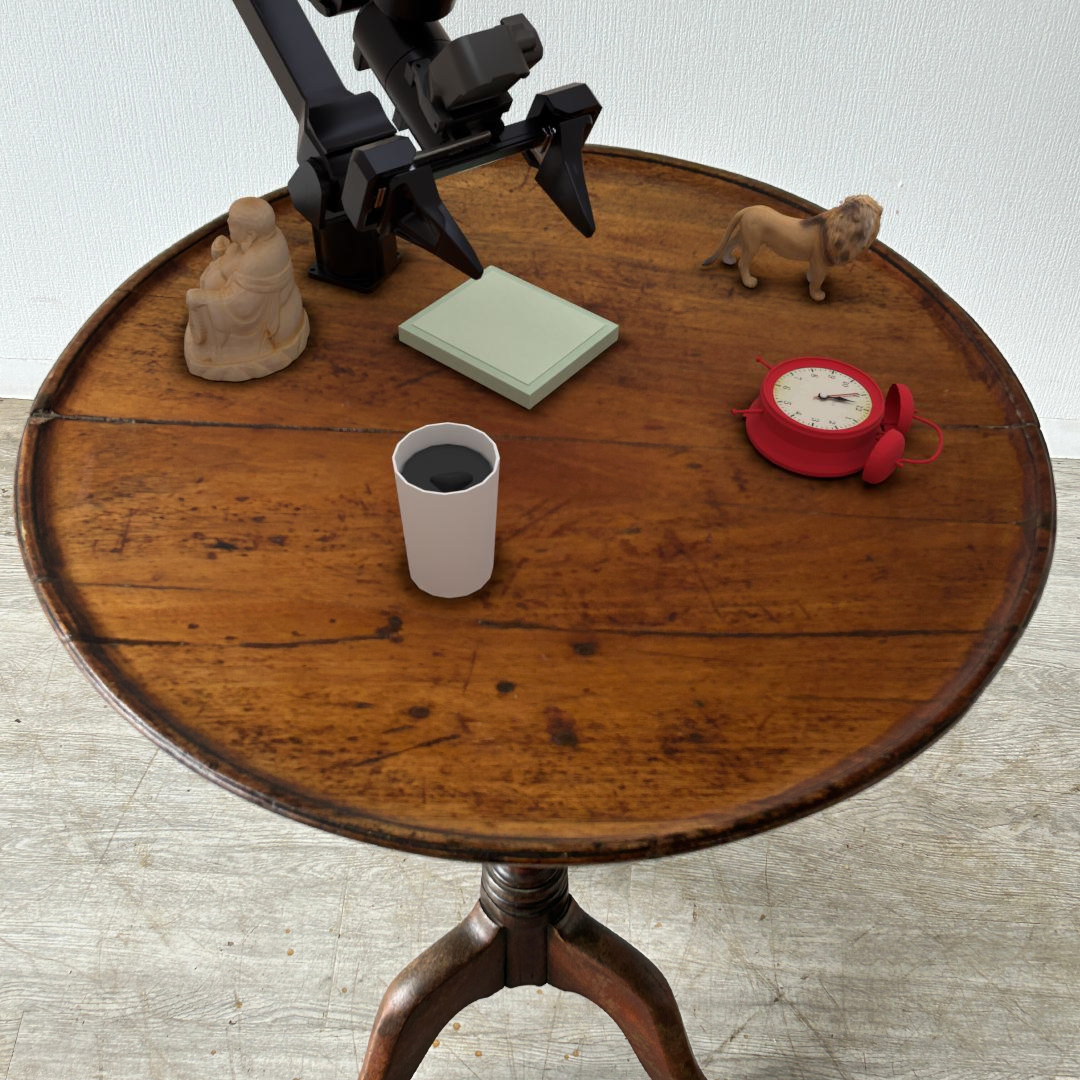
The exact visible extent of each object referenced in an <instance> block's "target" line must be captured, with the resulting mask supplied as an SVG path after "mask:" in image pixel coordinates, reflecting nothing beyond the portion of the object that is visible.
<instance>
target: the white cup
mask: <svg viewBox="0 0 1080 1080" xmlns="http://www.w3.org/2000/svg"><path fill="white" fill-rule="evenodd" d="M391 459H392V466H393V472H394V477H395V479H394V480H395V486H396V492H397V498H398V505H399V511H400V517H401V518H400V519H401V525H402V530H403V537H404V543H405V551H406V556H407V557H406V558H407V564H408V570H409V575H410V579H411V580H412V582H413V583H414V584H415V585H416V586H417V587H418V589H420V590H421V591H423V592H425V593H428V594H429V595H431V596H434V597H439V598H446V599H453V598H459V597H465V596H469V595H471V594H473V593H475V592H477V591H478V590H481V589H482V588H483V587H484V586H485V584H486V583H487V582H488V581H489V580H490V579H491V576H492V573H493V569H494V562H495V561H494V560H495V547H496V546H495V545H496V530H497V528H496V527H497V515H498V514H497V511H498V495H499V480H500V479H499V477H500V463H501V462H500V461H501V456H500V454H499V450H498V447H497V443H495V442H494V440H493V439H492V438H491V437H489V435H488V434H486V432H484V431H483V430H481V429H478V428H475V427H474V426H471V425H468V424H464V423H463V424H462V423H456V422H448V421H447V422H440V423H439V422H438V423H432V424H426V425H424V426H421V427H419V428H417V429H414V430H412V431H409V433H407V434H406V435H405V436H404V437H403V438H402V439H400V441H398V443H396V446H395V449H394V451H393V454H392V456H391Z"/></svg>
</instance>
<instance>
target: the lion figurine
mask: <svg viewBox="0 0 1080 1080" xmlns="http://www.w3.org/2000/svg"><path fill="white" fill-rule="evenodd" d="M883 211H884V206H883V205H880V204H879V202H878V201H877V200H875V199H874V198H873V197H872V196H870V195H869V194H861V193H860V194H857V195H856V194H852V195H851V196H850V195H849V196H846V197H845V198H844V202H843V203H841V204H839V205H838V206H833V207H832V208H830V209H827V210H826V211H823V212H821V213H818V214H817V215H813V216H811V217H810V218H806V219H804V218H798V217H792V216H789V215H785V214H783V213H780V212H779V211H777V210H775V209H774V208H772V207H769V206H766V205H764V204H763V205H761V204H758V205H751V206H747V207H744V208H742V209H740V210H739V211H738V212H737V213H736V214H735V215H734V216H733V217H732V218H731V220H730V221H729V223H728V225H727V226H726V229H725V231H724V233H723V235H722V237H721V240H720V242H719V244H718V246H717V249H716V250H715V251H714V252H713V254H711V256H709V257H707V258H706V259H705V260H704V261H702V262H701V263H700V266H702V267H710V266H712V265H713V264H714V263H715V262H716V261H718V259H719V257H720V255H721V261H722V262H723V263H724V264H726V265H733V264H735V263H736V262H737V257H736V256H735V254H734V255H733V254H732V251H733V250H735V249H736V248H738V247H740V246H741V257H740V259H739V261H738V263H737V266H738V269H739V272H740V276H741V280H742V283H743V285H744V286H745V287H747V288H750V289H752V288H755V287H757V284H758V279H757V277H754V276H751V274H750V265H751V263H752V262H753V260H754V259H755V257H756V256H757V254H758V253H759V251H760V248H761V246H762V245H763V244H765V245H767V247H768V248H770V249H771V250H772V251H773V252H774V253H775V254H777V255H778V256H779V257H782V258H784V259H787V260H790V261H797V262H808V263H809V264H808V268H807V270H806V274H805V275H806V279H807V281H808V283H809V286H808V288H809V296H810V297H811V298H812V299H813V300H814V301H817V302H820V301H823V300H824V299H825V297H826V293H825V291H824V290H823V291H822V289H821V286H822V284H823V282H824V281H825V279H826V276H827V273H828V271H829V268H830V267H831V268H834V267H836V266H837V267H838V266H840V267H846V266H848V265H849V264H852V263H853V261H855V259H856V258H857V257H858V256H860V255H861V254H862V253H864V252H865V251H866V250H868V249H869V248H870V247H871V245H872V244H873V243H874V241H875V240H876V239H877V237H878V235H879V233H880V231H881V230H880V229H881V225H882V224H881V219H882V216H883ZM738 225H739V228H738V230H737V232H736V233H735V234H734V235H732V234H733V232H734V231H735V229H736V228H737V226H738Z"/></svg>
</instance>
